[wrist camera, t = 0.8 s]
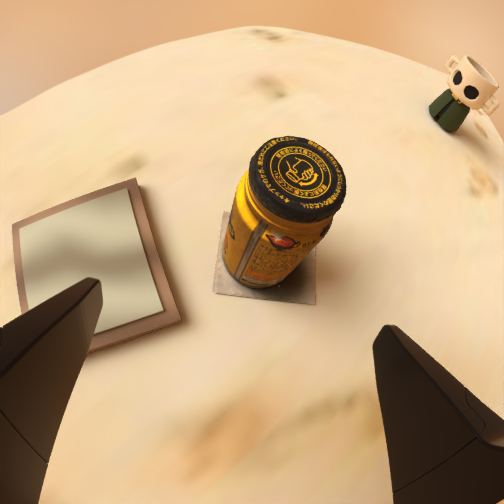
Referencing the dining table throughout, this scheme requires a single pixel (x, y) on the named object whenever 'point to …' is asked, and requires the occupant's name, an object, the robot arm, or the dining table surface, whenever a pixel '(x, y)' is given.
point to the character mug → (464, 93)
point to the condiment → (279, 222)
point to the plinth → (97, 261)
